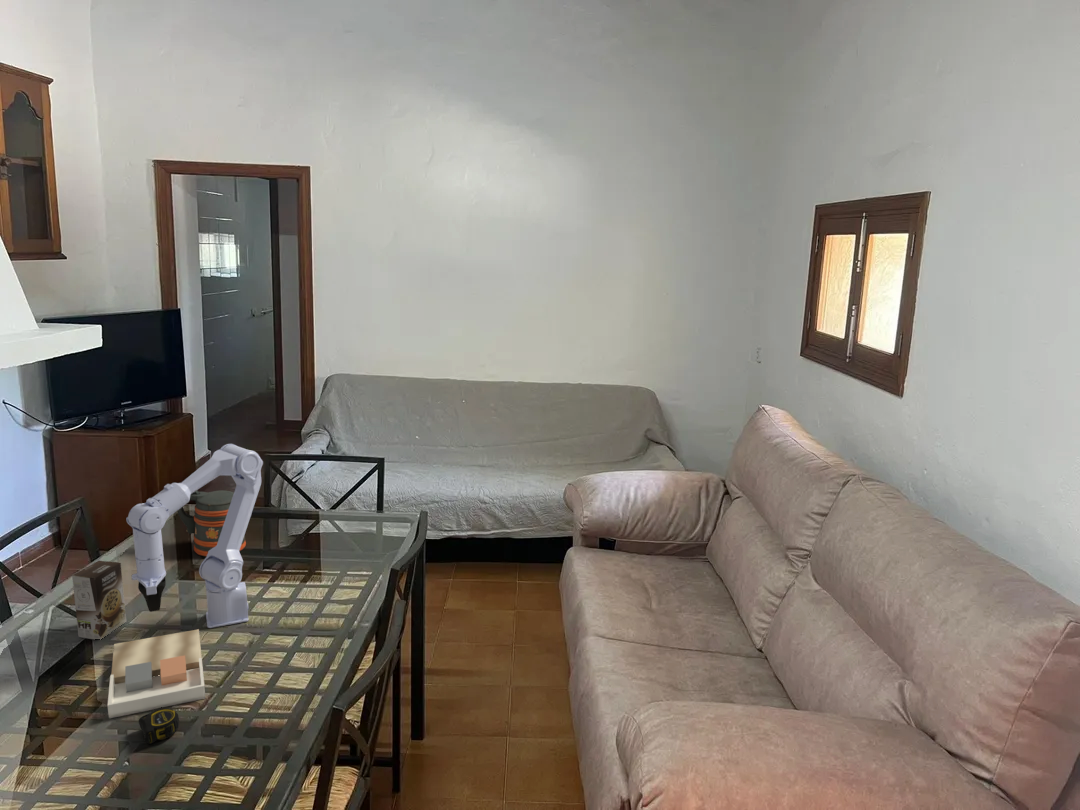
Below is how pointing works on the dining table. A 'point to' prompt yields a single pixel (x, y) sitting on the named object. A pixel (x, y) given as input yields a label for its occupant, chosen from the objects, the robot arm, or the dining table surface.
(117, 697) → the box
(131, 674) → the tile slate
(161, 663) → the tile terracotta
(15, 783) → the dining table surface
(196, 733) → the dining table surface
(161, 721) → the tape measure
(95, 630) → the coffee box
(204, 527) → the beer stein
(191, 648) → the deck
